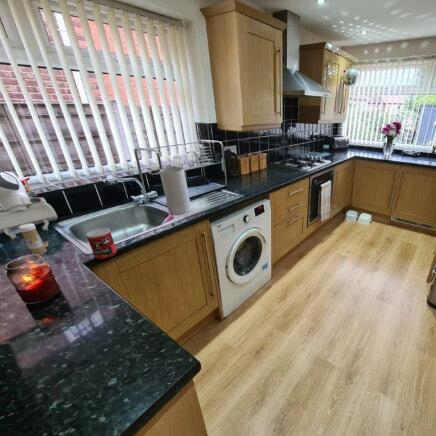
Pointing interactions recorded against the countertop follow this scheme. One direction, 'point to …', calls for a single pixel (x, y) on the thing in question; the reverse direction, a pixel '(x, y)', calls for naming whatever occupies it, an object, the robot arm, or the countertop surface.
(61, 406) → the countertop surface
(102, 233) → the canned food
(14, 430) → the countertop surface
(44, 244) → the cork coaster
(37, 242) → the sprinkles bottle
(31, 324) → the countertop surface
